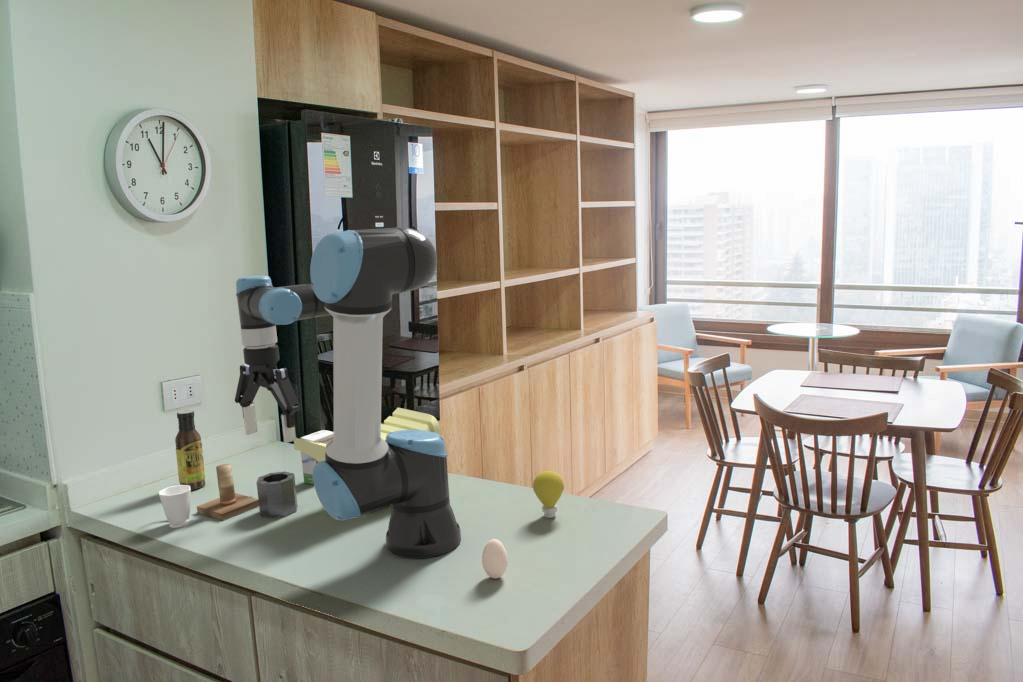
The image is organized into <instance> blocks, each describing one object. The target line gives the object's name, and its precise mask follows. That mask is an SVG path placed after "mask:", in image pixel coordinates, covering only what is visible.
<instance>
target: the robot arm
mask: <svg viewBox="0 0 1023 682" xmlns="http://www.w3.org/2000/svg"><path fill="white" fill-rule="evenodd" d="M310 260H311V261H310V267H309V270H310V272H309V273H310V274H309V275H310V283H304V284H302V283H301V284H294V285H287V286H286V285H285V286H284V285H283V286H277V287H275V286H273V283H272V279H271V277H270V276H269V275H251V276H250V275H249V276H243V277H239V278H238V279H237V280H236V281H235V282H236V283H235V284H236V285H235V288H236V291H235V296H236V298H237V299H236V300H237V308H238V316H239V324H240V336H241V344H242V346H243V350H242V351H243V352H242V353H243V360H244V362H243V363H244V364H241V365H240V366H239V377H238V384H237V387H236V392H235V398H234V403H236V404H239V406H240V407H241V410H242V418H243V420H244V430H245V436H249V435H252V434H256V433H258V423H257V415H256V406H255V404H254V400H255V397H256V395H257V393H258V391H259V389H260V388H261V387H263V388H265V389H267V391H270V393H271V395H272V396H273V398H274V400H275V401H276V402H277V404H278V407H280V409H281V411H282V413H280V419H281V425H282V435H283V443H284V444H288V443H291V442H294V440H296V438H297V435H296V418H295V417H296V416H295V412H297V411H301V405H300V402H299V400H298V397H297V395H296V392H295V389H294V388H293V385H292V384H291V383H292V382H291V380H290V377H289V371H288V369H287V368H286V367H283V368H279V369H278V367H277V363H278V362H279V361H280V358H281V357H280V351H279V350H280V349H279V346H278V344H277V343H278V336H277V326H280V325H281V326H282V325H284V326H285V325H286V326H287V325H290V324H292V323H294V322H295V321H302V320H308V319H313V318H317V317H318V318H319V317H327V316H332V317H333V318H332V319H333V320H332V321H333V324H332V325H333V326H332V328H333V330H332V331H333V337H332V338H333V339H332V340H333V342H332V343H333V344H332V345H333V346H332V349H333V352H332V353H333V358H332V359H333V365H332V366H333V367H332V368H333V370H332V372H333V378H332V379H333V380H332V382H333V384H332V385H333V432H334V438H333V439H332V440H331V441H330V442H328V443H327V445H326V447H325V461H319V463H317V464H316V465H315V467H314V468H313V482H314V484H313V485H314V489H315V492H316V495H317V497H318V500H319V501H320V503H321V505H322V508H323V509H324V510H325V511H326V513H327V514H328V515H330V517H331V518H333V519H334V520H337V521H346V520H347V521H348V520H349V519H353V518H356V519H357V518H360V517H361V516H364V515H367V514H370V513H372V512H376V511H378V510H381V509H384V508H388V507H391V513H390V516H389V521H388V528H387V531H386V533H385V545H386V550H387V551H388V552H389V553H390V554H392V555H394V556H396V557H399V558H403V559H427V558H428V559H429V558H433V557H438V556H440V555H444V554H447V553H449V552H451V551H453V550H454V549H455V548H456V549H457V547H458V546H459V545H460V544H461V541H462V534H461V527H460V524H459V523H458V522H457V519H456V516H455V513H454V510H453V507H452V506H451V502H450V501H451V499H450V489H449V488H450V486H449V485H450V484H449V475H448V474H449V473H448V460H447V458H448V453H447V448H446V442H445V439H444V437H443V436H442V435H441V436H440V435H439V434H437V433H434V432H430V431H423V430H400V431H394V432H391V433H389V434H387V436H386V439H385V441H384V440H383V439H382V438H381V424H382V386H383V385H382V383H383V382H382V378H383V332H384V331H383V327H384V326H383V324H384V317H385V316H386V315H387V314H388V313H389V312H390V311H392V305H393V295H395V294H402V293H406V292H411V291H415V290H418V289H420V288H422V287H424V286H426V285H427V284H428V283H429V282H431V280H432V278H433V277H434V276H435V274H436V271H437V268H438V267H437V266H438V255H437V251H436V248H435V246H434V245H433V242H432V241H431V240H430V239H429V238H428V237H427V236H426V235H425V234H423V233H422V232H421V231H419V230H416V229H414V228H410V227H404V226H403V227H401V226H399V227H398V226H395V227H387V228H370V229H369V228H368V229H353V230H351V229H347V230H344V231H339V232H332V233H328V234H326V235H324V236H323V237H322V238H321V239H320V240H319V242H318V243H317V244H316V245H315V247H314V249H313V252H312V255H311V259H310Z"/></svg>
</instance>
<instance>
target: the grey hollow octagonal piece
mask: <svg viewBox="0 0 1023 682" xmlns="http://www.w3.org/2000/svg"><path fill="white" fill-rule="evenodd" d="M256 488H257V489H256V490H257V499H258V500H259V506H258V507H259V508H258V509H259V515H260V516H261V517H263V518H264V517H265V518H268V519H275V518H282V517H287V516H289V515H292V514H294V513H296V512H297V510H298V496H297V487H296V478H295V473H293V472H289V471H278V472H275V471H274V472H270V473H266V474H264V475H260V476H258V477H257V480H256Z"/></svg>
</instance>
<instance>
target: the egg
mask: <svg viewBox="0 0 1023 682" xmlns="http://www.w3.org/2000/svg"><path fill="white" fill-rule="evenodd" d="M481 563H482V565H481V566H482V568H483V571H484V572H485V574H486V575H487V576H488V577H489V578H491V579H499V578H501V577H503V576H504V574H505V572H506V571H507V568H508V563H509V561H508V554H507V550H506V548H505V546H504V545H503V543H502V542H501V541H500V540H499V539H496V538H492V539H490V540H488V541H487V542H486V544H485V545H484V547H483V550H482V555H481Z"/></svg>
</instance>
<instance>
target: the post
mask: <svg viewBox="0 0 1023 682" xmlns="http://www.w3.org/2000/svg"><path fill="white" fill-rule="evenodd" d="M215 470H216V477H217V485H218V493H219V495H218V496H219V497H218V498H215V499H213V500H210V501H207V502H205V503H203V504H202V503H201V504H199V505H197V506H196V511H197V513H198V514H201V515H204V516H207V517H211V518H214V519H218V520H221V521H226V520H228V519H230V518H232V517H235V516H238V515H240V514H243V513H245V512H247V511H250V510H253V509H255V508H257V507H259V500H258V498H255V497H252V496H248V495H245V494H241V493H236V491H235V483H234V477H233V476H234V475H233V474H234V473H233V466H232V464H231V463H222V464H219V465H217V466H216V467H215Z"/></svg>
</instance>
